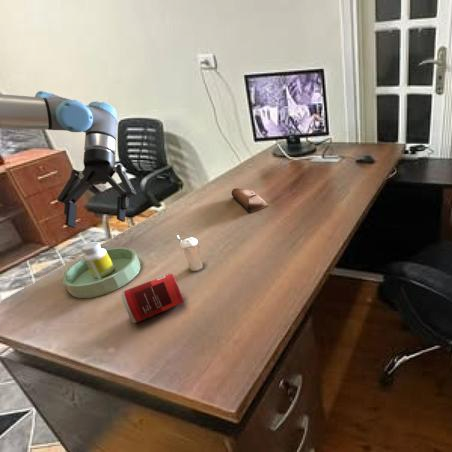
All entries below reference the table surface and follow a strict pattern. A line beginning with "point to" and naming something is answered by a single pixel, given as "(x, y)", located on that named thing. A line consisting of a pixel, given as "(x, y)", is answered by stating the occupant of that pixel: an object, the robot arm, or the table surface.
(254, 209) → the sunglasses case
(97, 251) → the supplement bottle
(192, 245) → the milkshake
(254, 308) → the table surface
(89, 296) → the pan
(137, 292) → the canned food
